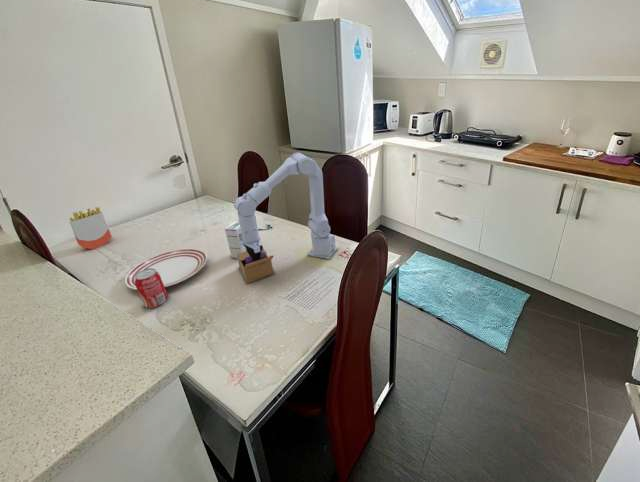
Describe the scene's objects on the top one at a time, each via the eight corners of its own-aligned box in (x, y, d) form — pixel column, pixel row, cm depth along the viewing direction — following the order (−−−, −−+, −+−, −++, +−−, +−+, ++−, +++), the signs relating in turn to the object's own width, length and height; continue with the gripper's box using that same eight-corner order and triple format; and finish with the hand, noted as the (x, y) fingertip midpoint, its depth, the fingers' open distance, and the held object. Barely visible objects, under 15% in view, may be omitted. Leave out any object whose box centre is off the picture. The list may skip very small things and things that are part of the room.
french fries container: (80, 249, 139) (63, 212, 132) (109, 238, 147) (95, 203, 140) (84, 252, 137) (67, 215, 129) (113, 241, 145) (99, 206, 138)
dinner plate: (117, 276, 120) (114, 269, 119) (192, 246, 139) (190, 240, 138) (140, 308, 104) (137, 300, 103) (221, 269, 123) (219, 262, 122)
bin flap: (270, 259, 118) (271, 260, 118) (244, 268, 113) (244, 269, 113) (272, 255, 113) (273, 256, 113) (245, 264, 108) (245, 265, 108)
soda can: (151, 296, 110) (140, 267, 105) (172, 294, 110) (162, 266, 105) (139, 310, 103) (127, 281, 98) (161, 308, 104) (150, 279, 99)
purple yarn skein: (264, 258, 122) (263, 251, 120) (267, 262, 119) (266, 256, 118) (246, 264, 118) (244, 257, 117) (248, 269, 115) (247, 262, 114)
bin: (273, 273, 121) (271, 259, 118) (247, 283, 116) (244, 268, 113) (264, 259, 129) (261, 246, 127) (239, 267, 124) (236, 253, 122)
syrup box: (243, 259, 130) (237, 228, 124) (231, 257, 131) (223, 227, 125) (251, 251, 135) (245, 222, 129) (239, 250, 136) (232, 221, 130)
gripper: (233, 224, 116) (239, 255, 121) (242, 240, 105) (249, 273, 110) (252, 219, 119) (258, 249, 125) (263, 234, 108) (269, 266, 114)
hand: (255, 260), depth 118 cm, fingers closed on purple yarn skein, 3 cm apart
